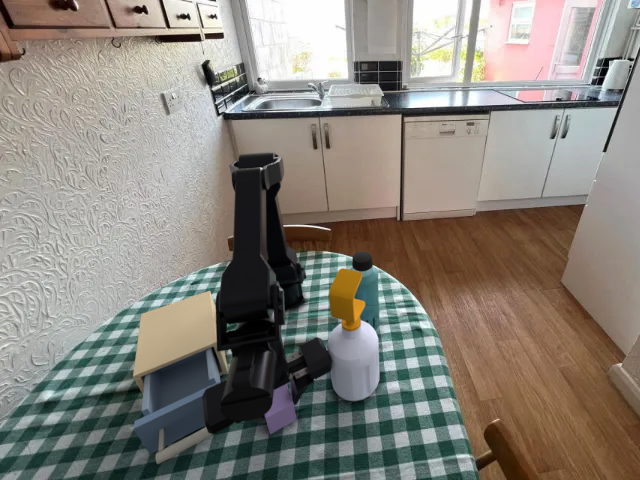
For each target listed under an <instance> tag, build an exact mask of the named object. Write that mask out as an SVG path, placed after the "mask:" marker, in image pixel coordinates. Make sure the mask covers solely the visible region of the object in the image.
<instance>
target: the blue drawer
mask: <svg viewBox="0 0 640 480" xmlns="http://www.w3.org/2000/svg"><path fill="white" fill-rule="evenodd" d="M220 382H221V376H220V374H219V367H218V359H217V355H216V352H215V349H214V346H213V347H211V348H209V349H206V350H204V351H201V352H199V353H197V354H194V355H192V356H189V357H187V358H185V359H182V360H180V361H177V362H175V363H173V364H170V365H168V366H166V367H163V368H161V369H158V370H156V371H154V372H151V373H149V374H146V375H145V380H144V391H143V394H142V403H141V413H142V414H143V417H140V418H139V419H136V420H134V422H133V430H134V432H135V434H136V435H137V437H138V438H139V440H140V442H141V443H142V445H143V447H144V448H145V450H146V452H147V453H148V454H149V455H151V454H153V453H155V452H156V453H155V462H156V464H157V465H160V464H161V463H164V462H165V461H167V460H169V459H171V458H173V457H174V456H176V455H178V454H180V453H182V452H184V451H185V450H188V449H189V448H191V447H193V446H195V445H197V444H199V443H201V442H203V441H204V440H207V439H208V438H210V437H212V436H213V435H214V434H210V433H208V430H207V428H206V426H205V421H204V410H203V397H202V396H203V394H204V392H205V390H206V389H207V388H209V387H212V386H214V385H216V384H218V383H220ZM203 427H204V428H203ZM199 429H200V430H199ZM197 430H198V431H197ZM195 431H196V432H195ZM188 435H189V436H188ZM176 441H177V442H176ZM174 442H175V443H174ZM172 443H173V444H172ZM168 445H169V446H168ZM166 446H167V447H166Z"/></svg>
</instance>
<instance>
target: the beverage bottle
mask: <svg viewBox="0 0 640 480" xmlns="http://www.w3.org/2000/svg"><path fill="white" fill-rule="evenodd" d="M351 266H352V268H350V269H349V270H354V271H358V272H360V273H362V279H361V281H360V284H359V286H358V289H357V291H356V293H355V297H354V299H358V300H362V301H364V302H365V307H364V309H363V311H362V313H361V315H360V319H361V320H362V321H364V322H366V323H369V324H370V325H371V326H372V327H373V328H374V330H375V332H377V330H378V328H379V325H380V314H381V311H380V310H381V309H380V308H381V306H380V299H379V271H378V269H377V268H376V267H374V261H373V256H372V254H371V253H370V252H368V251H365V250H364V251H362V250H361V251H357V252H355V253H354V254H353V255H352V260H351Z"/></svg>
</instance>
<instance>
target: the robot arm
mask: <svg viewBox="0 0 640 480" xmlns="http://www.w3.org/2000/svg"><path fill="white" fill-rule="evenodd" d="M228 167H229V170H230V176H231V186H232V189H233V191H234V204H233V205H234V209H233V237H232V257H231V260H230V262H229V263H228V264H227V266H226V267H225V269H224V271H223V272H222V273H221V277H220V285H219V290H218V291H217V293H216V296H215V307H216V335H217V351H218V352H219V351H225V352H226V351H230V353H231V356H232V357H231V361H230V365H229V369H228V373H227V377H226V379H224V380H223V381H220V383H218V384H216V385H214V386H212V387H209V388H207V389H206V390H205V392H204V394H203V396H202V397H203V410H204V421H205V426H206V428H207V430H208V433H210V434H213V435H215V434H217V433H219V432H220V431H223V430H224V429H227V428H228V427H230V426H232V425H234V423H235V424H241V423H243V422H256V423H260V424H264V423H266V419H265V414H266V413H267V412H268V411H269V410H270V409H271V407H272V404H273V394H274V390H275V389H277V388H279V387H281V386H283V385H285V384H287V385H288V384H289V387H290V389H289V391H290V395H291V398H292V401H293V405H294V407H295V406H296V405H297V404H298V403H299V401H300V399H301V398H302V396H303V395H304V393H305V392H306V390H307V389H308V388H309V386H311V385H313V384H314V381H315V380H317V379H319V378H321V377H323V376H325V375H326V374H328V373H330V372H331V369H332V361H331V358H330V355H329V353H328V351H327V346H326V345H325V344H324V341H323V339H322V338H321V337H318V336H315V337H313V338H311V339H309V340H306V341H304V342H303V343H301V344H298V345H297V347H298V350H296V351H294V352H291V354H289V356H288V358H287V356H286V350H285V346H284V341H283V336H282V329H283V328H282V327H283V326H284V325H286V311H288V310H291V309H293V308H296V307H298V306H301V305H303V304H305V303H306V298H305V296H304V292H303V286H302V285H303V284H304V281H305V280H306V279H307V273H306V272H307V271H306V268H305V266H304V265H303V263H302V261H301V260H298V259H299V258H298V255H297V252H296V250H294V249H293V248H292V247H290V246H289V245H288V242H287V236H286V231H285V226H284V222H283V221H284V220H283V216H282V211H281V206H280V201H279V195H278V194H279V192H280V190H281V187H282V183H283V182H282V181H283V179H284V176H285V166H284V160H283V157H282V156H279V154H277V153H276V152H275V151H266V152H252V153H250V152H249V153H240V154H239V156H238V160H233V161H232V162H231V163H230V164H229V165H228ZM234 324H237V325H236V328H235V329H231V330H228V325H229V326H230V325H234ZM205 426H204V427H205Z"/></svg>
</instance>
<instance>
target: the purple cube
mask: <svg viewBox="0 0 640 480" xmlns="http://www.w3.org/2000/svg"><path fill="white" fill-rule="evenodd" d="M264 417H265V423H266V425H267V428H268V432H269V434H270V435H273V434H274V433H275V432H277V431H279V430H280V429H282V428H285V427H286V426H288V425H289V424H292V423H293V422H294V421H297V414H296V409H295V406H294V404H293V401H292V397H291V391H290V389H289V387H288V383H287V384H285V385H283V386H281V387H279V388H277V389H275V390H274V394H273V404H272V407H271V409H270V410H269V411H268V412H267V413H266V414H265V415H264Z"/></svg>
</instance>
